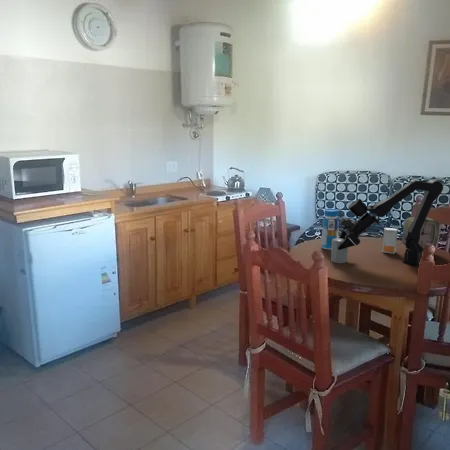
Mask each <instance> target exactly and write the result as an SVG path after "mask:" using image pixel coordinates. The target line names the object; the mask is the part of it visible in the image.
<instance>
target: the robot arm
mask: <svg viewBox="0 0 450 450" xmlns="http://www.w3.org/2000/svg"><path fill="white" fill-rule="evenodd" d="M417 190H419V191H423V198H422V201H421V203H420V204H421V205H419V206H418V209H417V210H418V211H416V214H415V216H414V217H415V218H414V221H413V223H412V225H411V227H410V228H409V229H408V230H407V229H404V228H403V229H404V233H403V232H402V234H401V235H400V236H401V242H402V244H403V245H404V246H405V251H404V254H403V255H404V257H403V261H402V263H403V264H406V265H410V266H412V267H416V266H419V262H420V259H421V260H422V255H423V251H424V249H423V248H422V247H421V246H420V245H419V240H420V231H421V228H422V226H423V224H424V222H425V219H426V217H427V218H428V215H429V213H430V210H431V207H432V206H433V204H434V202H435V201H436V200H437V199H438V198H439V196H440V195H441V193H442V192H443V190H444V185H443V183H442V182H440V181H439V180H436V179H430V180H428V181H427V180H417V179H411V180H410V181H409V182H408V183H407V184H405V185H404V186H402V187H401V188H400V189H398V190H397V191H395V192H394V193H392V194H391V195H390V196H388V197H386V198H385V199H382V200H380V201H377V202H376V203H374V204H371V205H366V204H365V203H364V202H363V200H362V199H361V198H358V199H357V200H355V201H353V202H351V203H350V205H348V207H347V209H348V210H349V211H350V212H351V213H352V215H354V216H355V218H358V217H359V219H358V220H354V221H353V220H352V219H350V218H346V217H344V216H342V217H341V219H340V221H339V225H341V226H342V228H341V234H340V235H339V236H338V238H341V239H345V240H344V241H343V242H342V244H341V245H340V246H339V247H338V250H341V249H344V248H348V249H349V248H350V247H355V246H358V245H359V244H361V239H360V236H361V235H362V234H363V233H366V232H367V230H368V229H369V228H371V226H372V225H374V224H376V225H377V226H380V220H381V219H380V218H384V217H386V216H387V215H388V213H390V211H391V210H392V209H393V207H395V206H396V205H397V204H398V203H400V202H401V201H402V200H404V199H406V197H408V196H409V195H410V194H412V193H414V192H415V191H417ZM376 216H377V217H376Z"/></svg>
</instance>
